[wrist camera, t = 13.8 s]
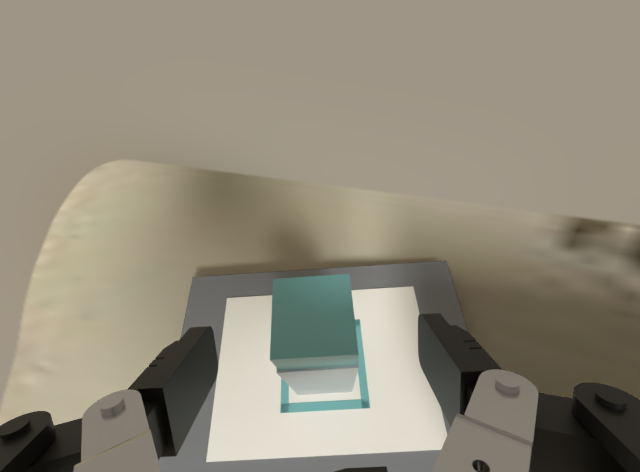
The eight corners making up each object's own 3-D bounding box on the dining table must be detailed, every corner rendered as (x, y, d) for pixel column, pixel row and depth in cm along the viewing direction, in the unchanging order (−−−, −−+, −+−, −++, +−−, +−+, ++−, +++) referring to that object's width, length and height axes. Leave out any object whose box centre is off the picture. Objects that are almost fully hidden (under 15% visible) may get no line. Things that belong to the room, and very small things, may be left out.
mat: (442, 266, 25) (446, 260, 24) (508, 489, 17) (517, 492, 16) (197, 282, 25) (192, 276, 24) (155, 506, 18) (145, 510, 17)
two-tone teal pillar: (346, 336, 21) (351, 271, 13) (352, 391, 19) (361, 357, 11) (297, 340, 21) (270, 276, 13) (298, 395, 19) (266, 362, 11)
